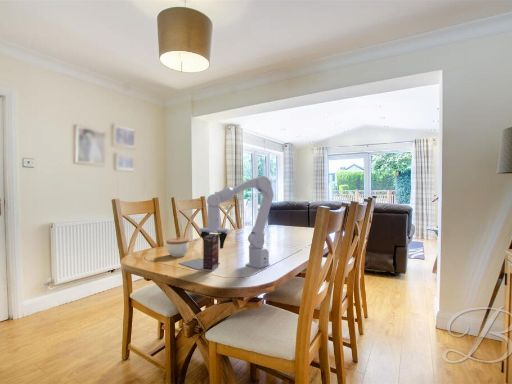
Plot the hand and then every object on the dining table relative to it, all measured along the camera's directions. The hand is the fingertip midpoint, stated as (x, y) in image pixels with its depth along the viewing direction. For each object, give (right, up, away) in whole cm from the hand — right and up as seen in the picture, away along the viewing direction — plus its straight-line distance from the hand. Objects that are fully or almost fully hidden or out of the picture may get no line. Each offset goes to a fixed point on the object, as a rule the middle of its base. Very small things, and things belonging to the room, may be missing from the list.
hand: (214, 247), depth 129 cm
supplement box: (-1, -10, 0) cm, 10 cm away
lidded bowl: (-25, -10, +26) cm, 38 cm away
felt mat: (-9, -10, +8) cm, 16 cm away
